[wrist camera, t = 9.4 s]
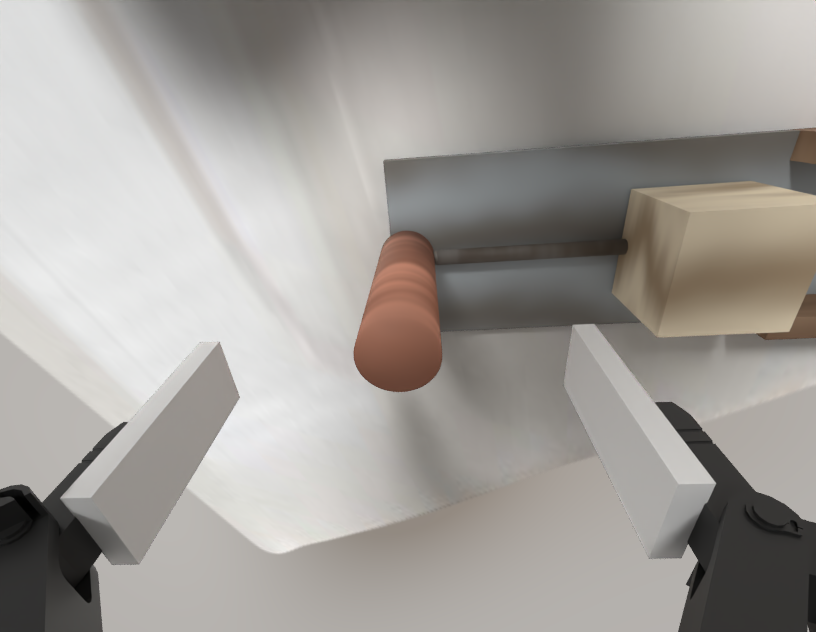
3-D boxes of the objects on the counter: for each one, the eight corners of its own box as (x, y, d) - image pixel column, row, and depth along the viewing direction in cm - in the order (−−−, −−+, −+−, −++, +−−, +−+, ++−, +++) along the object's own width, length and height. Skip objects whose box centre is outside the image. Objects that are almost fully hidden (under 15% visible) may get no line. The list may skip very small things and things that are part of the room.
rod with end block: (375, 206, 25) (340, 279, 14) (751, 180, 24) (1020, 241, 13) (386, 304, 28) (364, 423, 18) (716, 287, 27) (908, 405, 16)
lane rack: (384, 159, 25) (376, 171, 20) (1022, 112, 22) (1170, 113, 18) (400, 328, 30) (396, 365, 26) (909, 303, 28) (1000, 340, 24)
